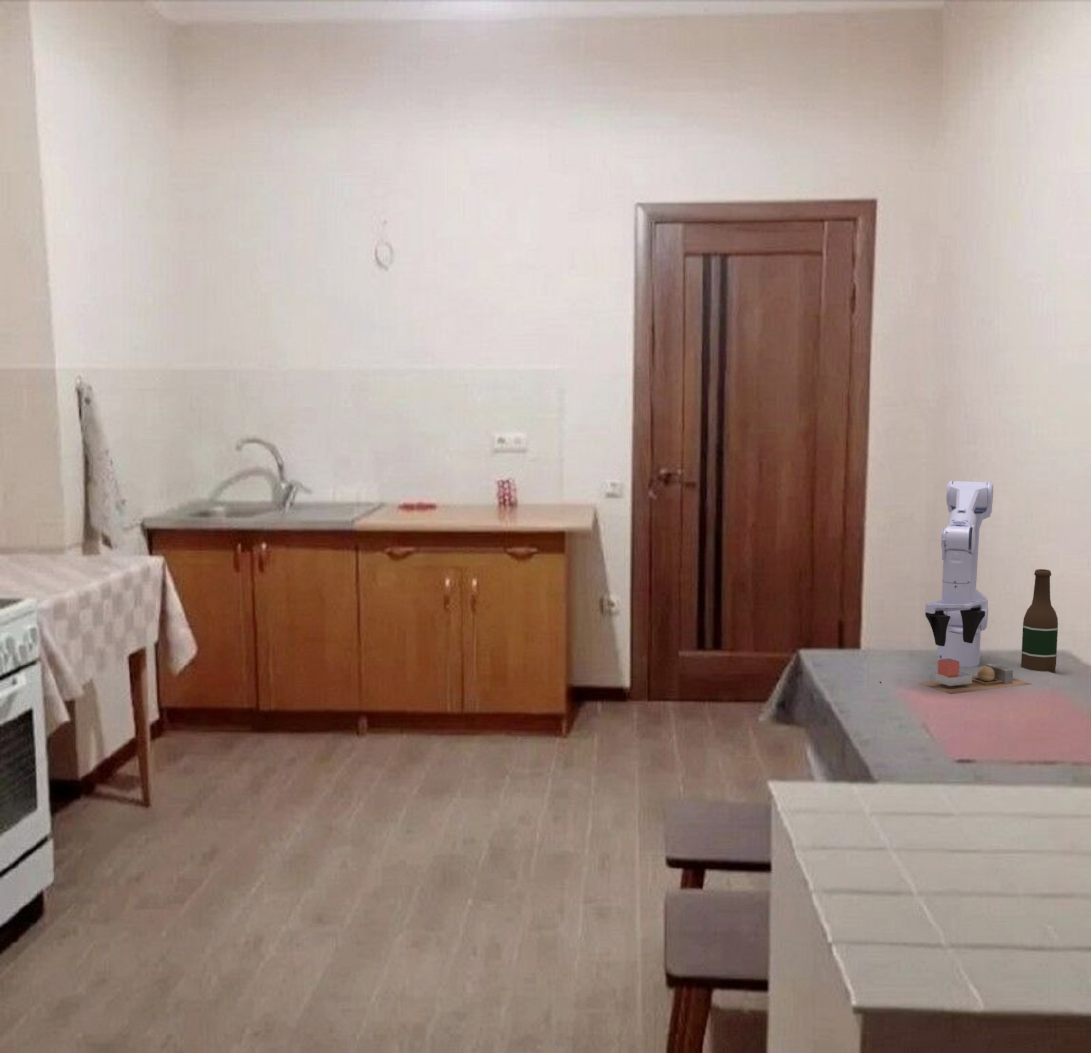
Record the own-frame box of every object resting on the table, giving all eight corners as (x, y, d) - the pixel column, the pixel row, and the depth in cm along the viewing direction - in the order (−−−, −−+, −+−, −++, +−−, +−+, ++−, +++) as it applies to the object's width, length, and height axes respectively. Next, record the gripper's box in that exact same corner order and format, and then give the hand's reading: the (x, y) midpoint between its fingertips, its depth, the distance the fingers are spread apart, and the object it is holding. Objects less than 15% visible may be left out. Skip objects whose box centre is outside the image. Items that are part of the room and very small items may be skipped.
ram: (935, 681, 240) (936, 658, 240) (957, 678, 242) (958, 656, 242) (949, 686, 236) (950, 663, 236) (971, 683, 238) (972, 660, 238)
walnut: (973, 680, 244) (974, 665, 243) (986, 679, 245) (987, 663, 244) (985, 684, 240) (986, 668, 240) (998, 683, 242) (998, 667, 241)
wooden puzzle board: (918, 688, 242) (919, 669, 242) (997, 678, 250) (998, 660, 250) (950, 699, 233) (951, 680, 233) (1031, 689, 241) (1032, 670, 240)
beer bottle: (1049, 668, 259) (1054, 567, 257) (1061, 676, 252) (1066, 572, 249) (1015, 668, 260) (1019, 567, 257) (1026, 676, 252) (1031, 572, 250)
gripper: (942, 586, 230) (940, 650, 232) (996, 582, 236) (994, 644, 237) (919, 581, 237) (917, 643, 238) (972, 577, 242) (970, 638, 244)
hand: (954, 643), depth 238 cm, fingers open, 7 cm apart
